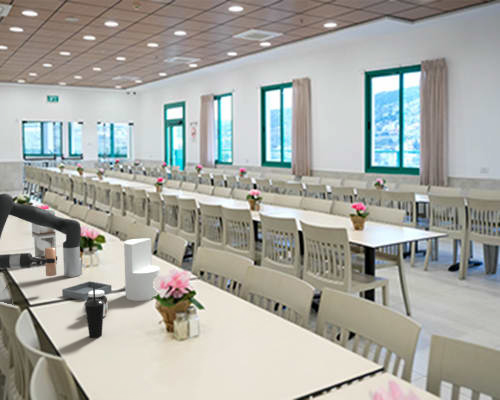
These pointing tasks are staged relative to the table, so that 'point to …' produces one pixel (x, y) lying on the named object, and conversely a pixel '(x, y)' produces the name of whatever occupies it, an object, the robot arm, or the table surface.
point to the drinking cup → (94, 316)
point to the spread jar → (98, 295)
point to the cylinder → (139, 270)
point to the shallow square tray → (85, 290)
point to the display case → (43, 237)
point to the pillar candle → (50, 267)
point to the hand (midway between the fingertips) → (55, 259)
